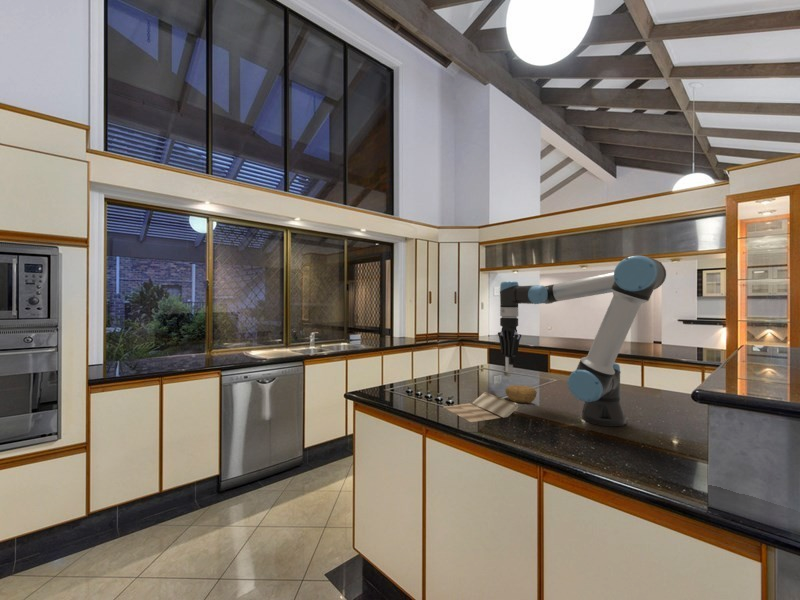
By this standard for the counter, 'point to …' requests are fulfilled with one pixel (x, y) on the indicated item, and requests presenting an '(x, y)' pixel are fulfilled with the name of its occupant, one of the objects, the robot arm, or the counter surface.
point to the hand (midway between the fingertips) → (509, 371)
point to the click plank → (495, 404)
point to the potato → (521, 393)
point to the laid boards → (471, 412)
